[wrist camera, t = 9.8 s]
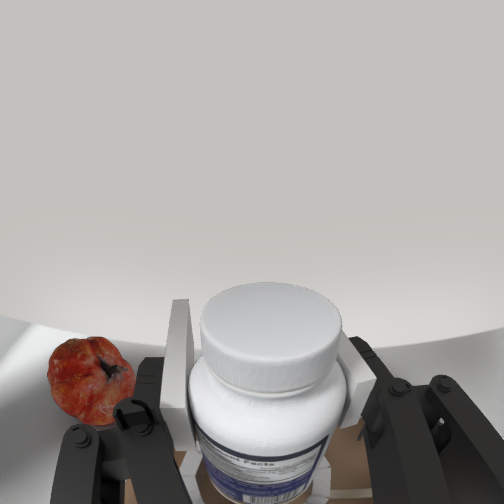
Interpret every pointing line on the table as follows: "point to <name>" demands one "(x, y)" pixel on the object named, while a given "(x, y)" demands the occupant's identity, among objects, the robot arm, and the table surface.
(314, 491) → the ring
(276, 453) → the pill bottle
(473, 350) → the table surface
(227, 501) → the base plate
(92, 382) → the pomegranate
